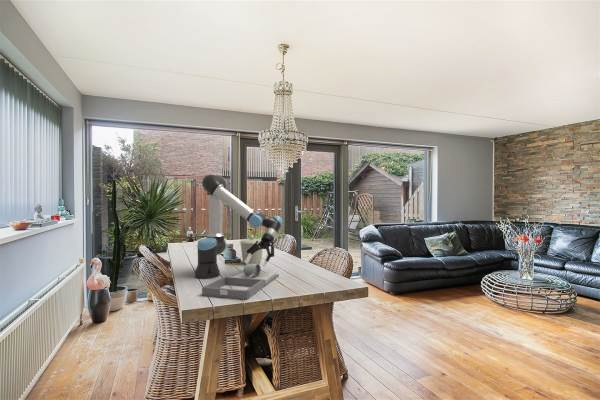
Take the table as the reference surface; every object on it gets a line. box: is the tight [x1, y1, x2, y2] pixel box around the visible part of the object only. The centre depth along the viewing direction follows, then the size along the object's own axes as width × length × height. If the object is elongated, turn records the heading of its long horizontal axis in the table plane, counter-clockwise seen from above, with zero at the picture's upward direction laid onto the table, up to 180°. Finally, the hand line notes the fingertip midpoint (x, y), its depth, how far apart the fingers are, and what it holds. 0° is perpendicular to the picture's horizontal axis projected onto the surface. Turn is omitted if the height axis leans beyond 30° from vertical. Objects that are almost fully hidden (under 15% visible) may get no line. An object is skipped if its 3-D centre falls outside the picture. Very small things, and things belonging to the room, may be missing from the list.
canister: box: [239, 235, 264, 265], centre depth 244 cm, size 18×18×21 cm
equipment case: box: [201, 270, 280, 300], centre depth 185 cm, size 25×47×4 cm, turn 164°
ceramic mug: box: [243, 263, 261, 278], centre depth 194 cm, size 11×8×8 cm
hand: (254, 264), depth 196 cm, fingers open, 13 cm apart
